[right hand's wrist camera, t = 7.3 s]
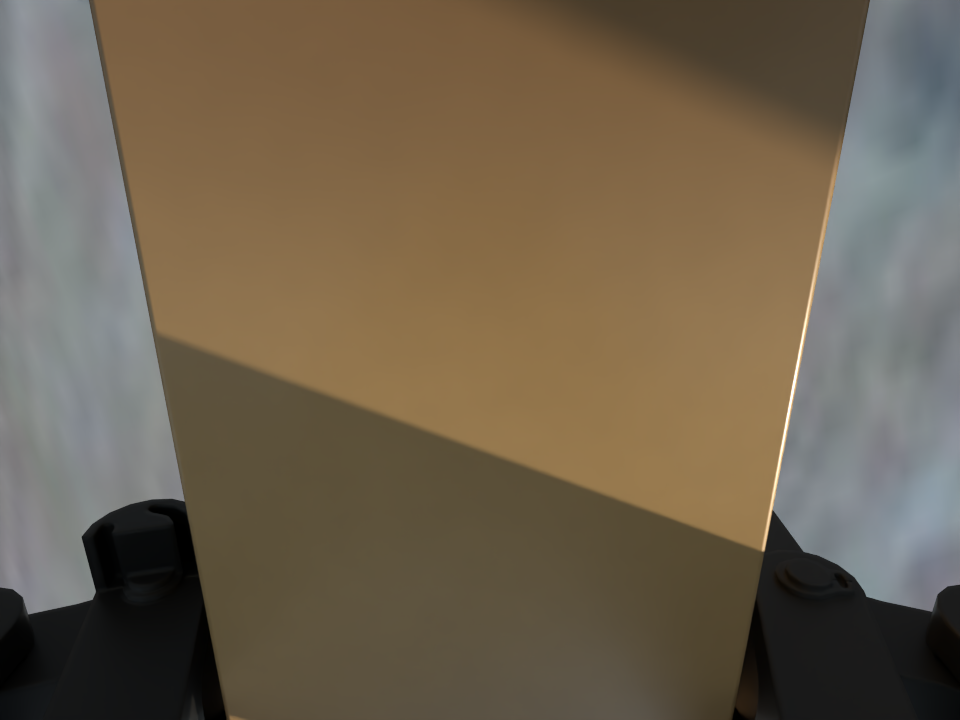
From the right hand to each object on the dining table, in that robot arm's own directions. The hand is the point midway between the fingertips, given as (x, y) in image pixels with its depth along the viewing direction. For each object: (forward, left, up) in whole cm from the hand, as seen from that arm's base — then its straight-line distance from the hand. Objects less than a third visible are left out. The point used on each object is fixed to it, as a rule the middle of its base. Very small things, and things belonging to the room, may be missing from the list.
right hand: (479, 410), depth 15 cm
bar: (+2, +8, -1) cm, 8 cm away
